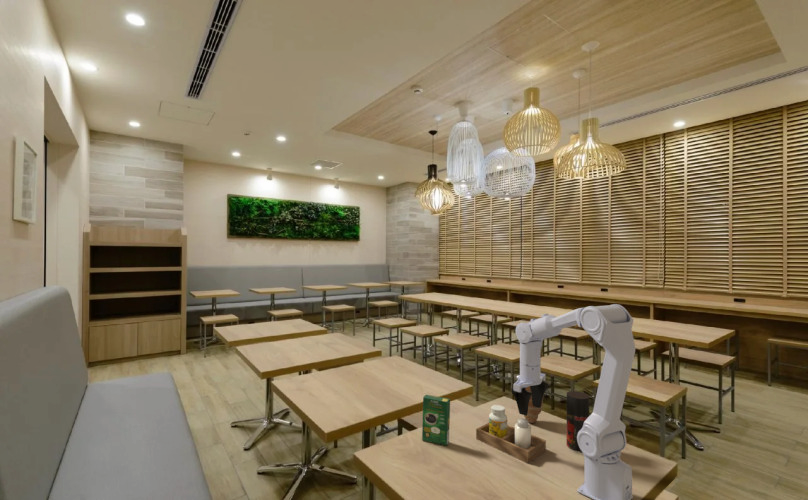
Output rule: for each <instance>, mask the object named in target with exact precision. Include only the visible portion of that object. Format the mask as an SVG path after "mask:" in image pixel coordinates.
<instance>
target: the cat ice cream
mask: <svg viewBox="0 0 808 500" xmlns="http://www.w3.org/2000/svg"><path fill="white" fill-rule="evenodd" d="M526 390H527V392H530V393H531V389H530V386H529V387H527V388H526ZM544 396H545V395H544ZM544 396H543V400H544V398H545V397H544ZM543 400H542V404H541V407H540V408H537V407H534V406H533V404H532V395H531V397H530V400H529V404H528V413H527V415H526V416H525V415H523V416H524V419H526V420H528V423H530V424H534V423H536V422H537V420H538V417H539V415H540V414H541V412H542V407H543V404H544V401H543Z"/></svg>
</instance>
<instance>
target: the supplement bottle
mask: <svg viewBox="0 0 808 500" xmlns="http://www.w3.org/2000/svg"><path fill="white" fill-rule="evenodd" d="M488 423H489V433H490V434H492V435H494V436H497V437H499V438H503V437H504V436H506V435H507V425H508V416H507V415H506V407H504V406H502V405H499V404H494V405H491V407H490V413H489V415H488Z"/></svg>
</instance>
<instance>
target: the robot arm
mask: <svg viewBox="0 0 808 500" xmlns="http://www.w3.org/2000/svg"><path fill="white" fill-rule="evenodd" d="M633 323H634V318H633V316H632V315H631V314H630V312H629V311H628V310H627V309H626V307H624V306H622V304H617V303H613V304H610V305H598V306H597V305H596V306H594V305H589V306H586V307H579V308H576V309H573V310H571V311H569V312H568V311H567V312H566V313H563V314H561V315H559V316H558V315H557V316H555V315H553V314H549V313H544V314H543V313H542V314H541V317H539V318H531V319H530V321H529V322H520V323H517V325H516V327H515V337H516V338H517V340H518V341H519V374H518V375H516V379H517V380H516V381H515V382H514V383H513V387H511V390H510V391H511V393H512V395H513V397H514V399H515V402H516V406H517V409H518V413H519V414H520V415H522V416H524V415H525V416H526V415H527V413H528V404H529V400H530V397H531V395H532V404H533V406H534V407H537V408H540V407H541V404H542V400H544V398H543V396H545V393H546V391H547V389H548V388H549V383H548V382H545V381H546V374H545V373H542V372H541V368H542V367H541V366H542V365H541V361H542V359H541V355H542V354H541V351H542V350H541V349H542V347H543V341H544V340H546V339H549V338H554V337H557V336H559V335H560V334H561V332H562V329H566V328H570V327H574V326H578V327H579V328H583V330H584V331H585V332H586V333H588V335H589V336H590V337H591V338H593V340H594V341H595V342H597V344H599V346H601V347H603V349H604V351H605V353H604V356H603V357H604V358H603V362H602V368H601V371H600V376H599V381H598V385H597V389H596V390H597V392H596V396H595V401H594V405H593V410H592V413H591V414H589V417H588V418H587V419H586V420H585V421H584V424H583V427H582V429H581V430H580V431H579V432H578V434H577V442H578V445H579V447H580V449H581V451H582V452H581V453H582V455H583V457H584V458H583V459H584V464H583V465H584V466H583V467H584V468H583V470H584V477H583V478H584V483H582V484H581V485H580V486H579V487H578V488H577V490H576V491H577V492H578V493H579V494H582V495H583V496H585V497H588V498H590V499H592V500H631V499H632V500H633V498H634V495H633V469H632V466H631V465H630V464H629V463H626V462H624V461H623V460H621V458H620V457H621V455H622V454H621V452H622V451H623V450H625V448H626V447H627V437H626V429H627V425H626V424H625V423H624V422H623V421H622V420H621V415H622V411H623V408H624V407H623V406H624V401H625V398H626V394H627V393H626V392H627V390H628V389H627V388H628V384H629V381H630V376H631V372H632V367H633V363H634V358H635V354H636V345H635V344H636V343H635V339H634V334H633V329H632V327H633V325H634V324H633ZM529 386H530V389H531V393H530V392H527V390H526V388H527V387H529ZM541 408H542V407H541Z"/></svg>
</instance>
